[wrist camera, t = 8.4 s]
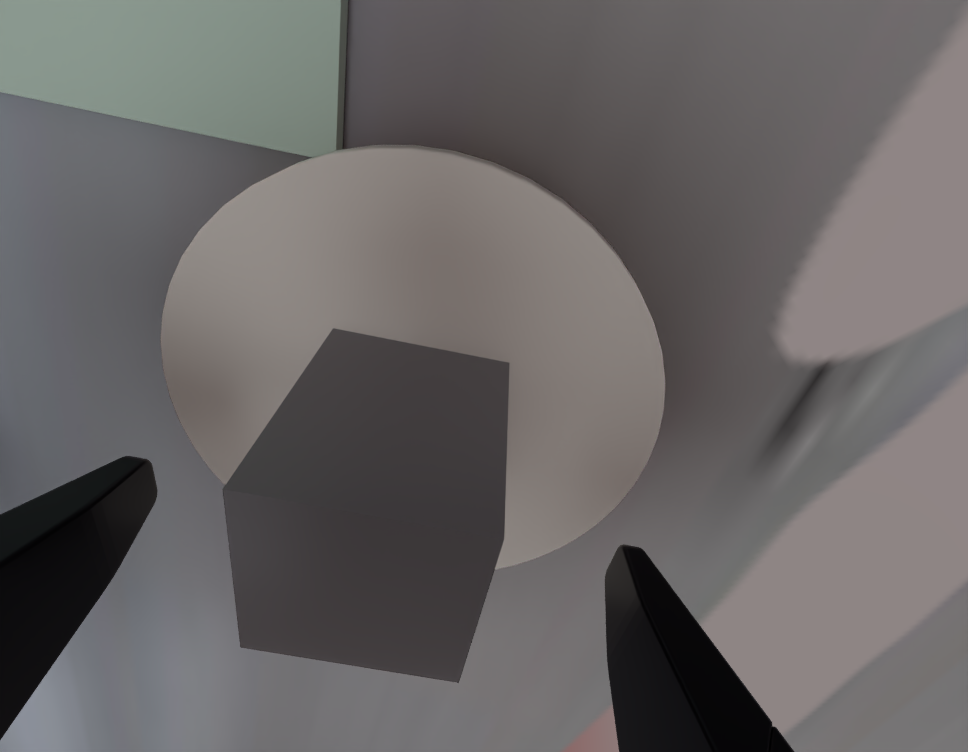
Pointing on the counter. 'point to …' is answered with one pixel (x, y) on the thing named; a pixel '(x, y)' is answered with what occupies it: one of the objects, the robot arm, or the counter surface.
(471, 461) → the lid
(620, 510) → the counter surface
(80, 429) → the counter surface
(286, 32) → the mat
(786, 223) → the counter surface
